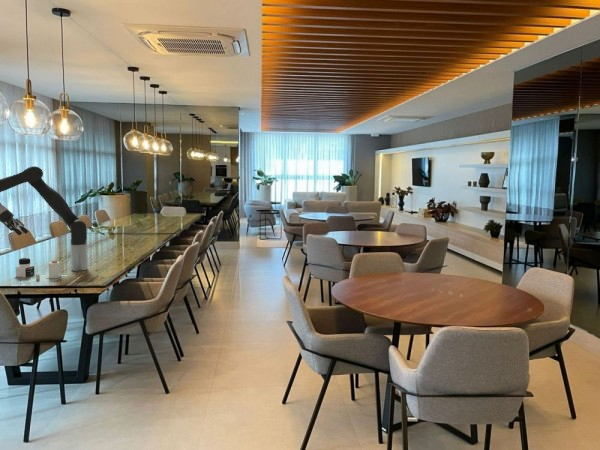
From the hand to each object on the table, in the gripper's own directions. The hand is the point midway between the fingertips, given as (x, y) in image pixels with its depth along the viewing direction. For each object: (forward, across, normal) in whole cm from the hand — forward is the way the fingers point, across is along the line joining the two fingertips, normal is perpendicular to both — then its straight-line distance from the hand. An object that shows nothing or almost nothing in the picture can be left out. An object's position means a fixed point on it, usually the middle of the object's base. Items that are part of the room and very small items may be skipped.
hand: (24, 233), depth 271 cm
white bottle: (+30, +4, +8) cm, 31 cm away
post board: (+29, +2, +11) cm, 31 cm away
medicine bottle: (+18, +10, +23) cm, 31 cm away
